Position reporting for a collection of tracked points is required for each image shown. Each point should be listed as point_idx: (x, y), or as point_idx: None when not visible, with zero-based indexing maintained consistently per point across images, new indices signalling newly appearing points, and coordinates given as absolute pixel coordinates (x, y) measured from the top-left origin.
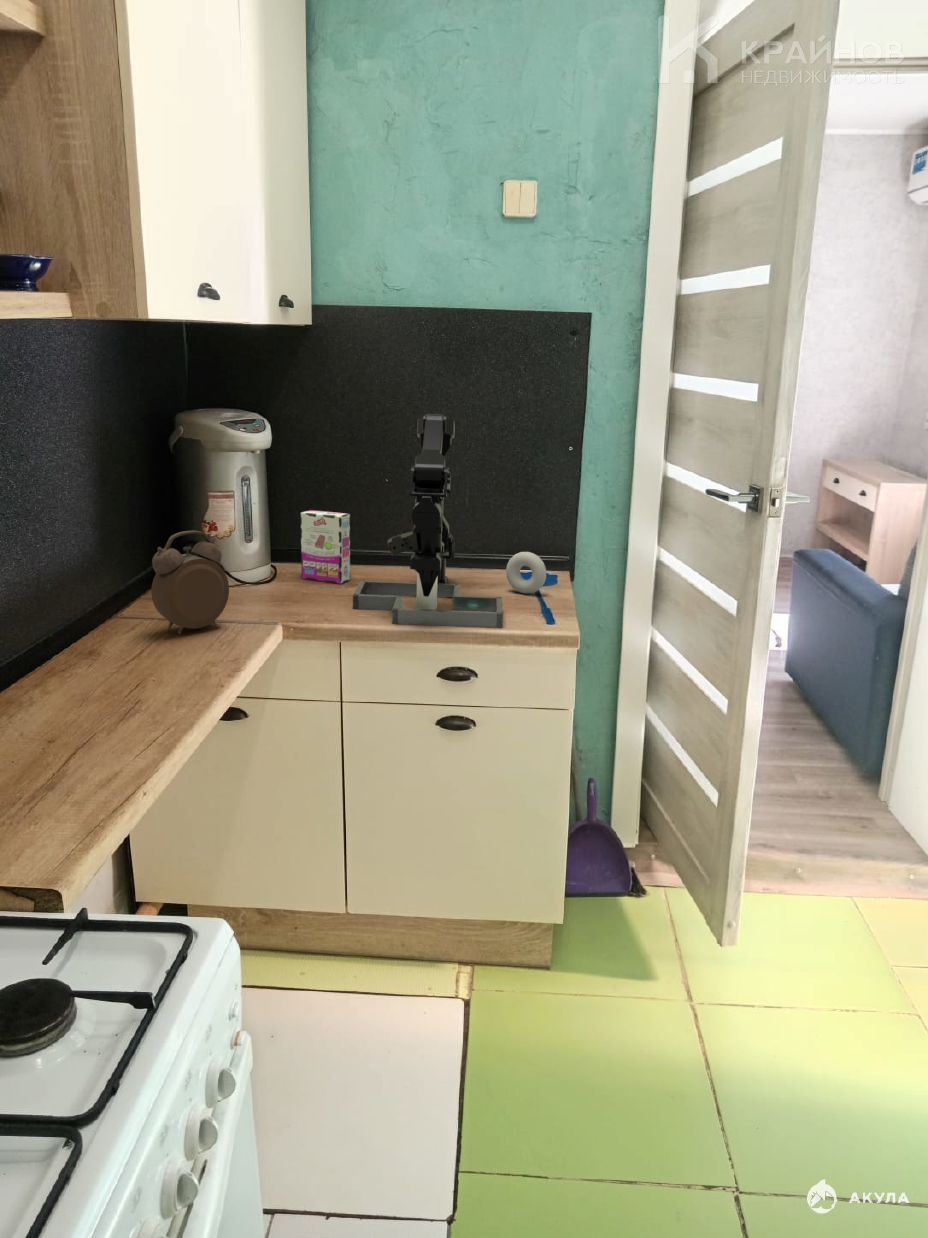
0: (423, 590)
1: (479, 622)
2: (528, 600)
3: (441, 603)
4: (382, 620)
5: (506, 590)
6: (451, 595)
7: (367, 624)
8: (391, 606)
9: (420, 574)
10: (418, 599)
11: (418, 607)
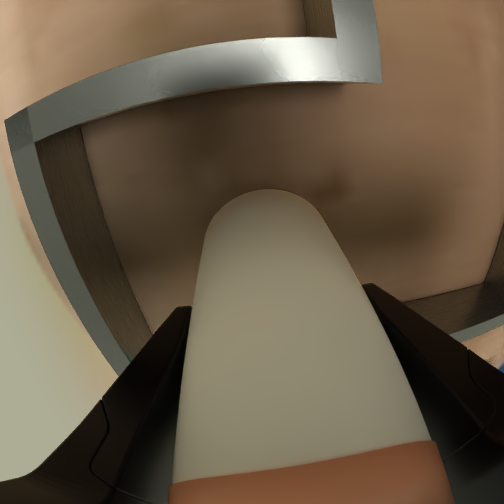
0: (151, 343)
1: None
2: None
3: (441, 258)
4: (88, 39)
5: (489, 358)
6: (491, 280)
7: (25, 20)
8: (312, 20)
9: (46, 473)
10: (214, 240)
11: (218, 213)
